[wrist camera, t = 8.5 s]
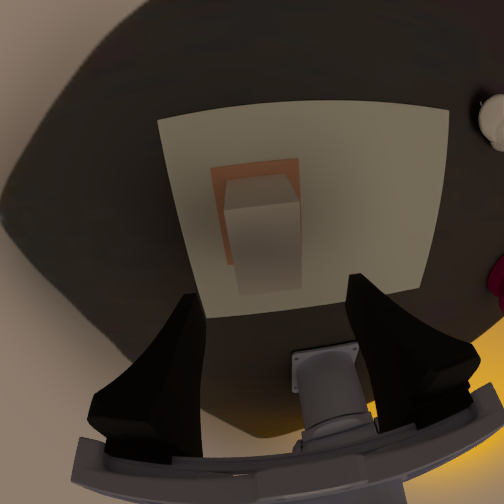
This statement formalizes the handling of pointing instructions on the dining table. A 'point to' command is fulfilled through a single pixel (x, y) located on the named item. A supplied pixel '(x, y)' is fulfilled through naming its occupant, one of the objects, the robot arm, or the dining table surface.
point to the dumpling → (493, 121)
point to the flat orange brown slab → (244, 171)
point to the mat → (315, 192)
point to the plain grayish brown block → (264, 233)
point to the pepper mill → (497, 281)
